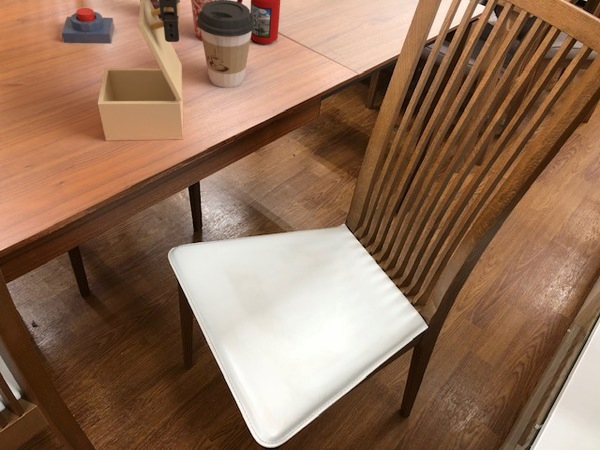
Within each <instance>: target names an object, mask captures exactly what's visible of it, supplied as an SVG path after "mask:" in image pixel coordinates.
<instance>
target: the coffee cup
mask: <svg viewBox="0 0 600 450" xmlns="http://www.w3.org/2000/svg"><path fill="white" fill-rule="evenodd" d="M250 11H251V9H249V7H248V6H247V5H246V4H243V2H242V3H239V2H237V0H236V1H235V0H216V1H212V2H209V3H207V4H205V5H204V6H203V7H202V11H201V12H200V13H199V14H198V20H197V25H198V26H199V28H200V29H201V34H202V40H203V41H202V40H201V41H202V45H203V52H204V57H205V61H206V68H207V74H208V77H209V80H210V82H211V84H213V85H214V86H217V87H219V88H223V89H231V88H236V87H238V86H240V85H241V84H242V83H243V82H244V79H245V76H246V71H247V70H246V69H247V63H248V57H249V51H250V43H251V39H252V38H251V32H252V30H253V29H254V27H255V23H254V17H253V16H252V14H251V13H250Z"/></svg>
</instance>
